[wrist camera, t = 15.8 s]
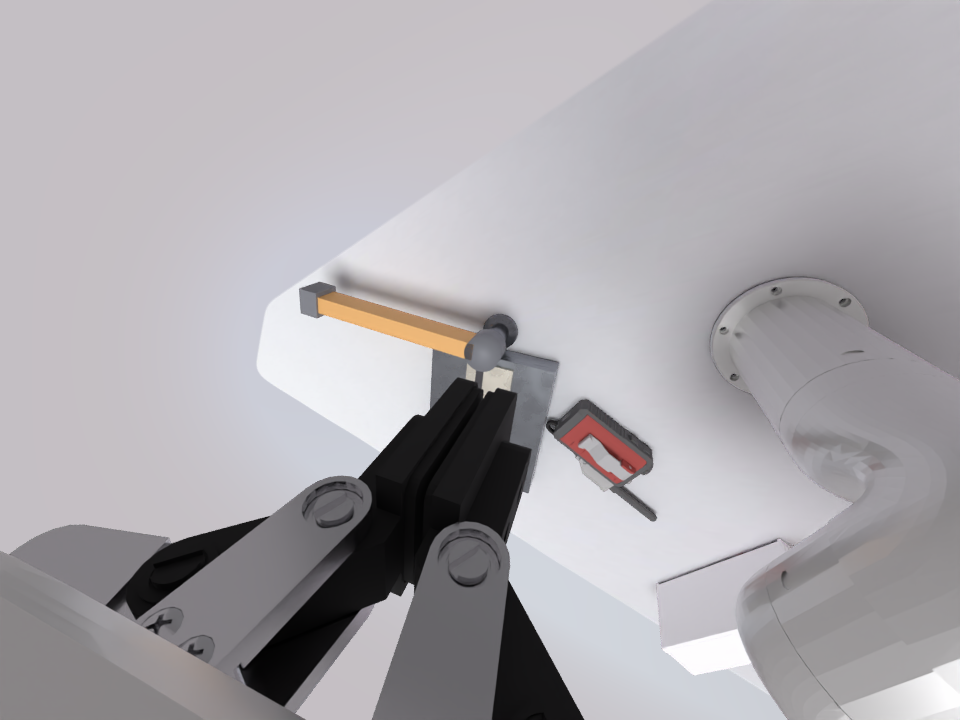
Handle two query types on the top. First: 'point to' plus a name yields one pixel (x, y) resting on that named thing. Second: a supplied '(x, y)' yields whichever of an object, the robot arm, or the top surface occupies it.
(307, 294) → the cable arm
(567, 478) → the top surface
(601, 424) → the walkie-talkie
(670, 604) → the cigarette display
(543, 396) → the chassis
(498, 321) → the pivot post
